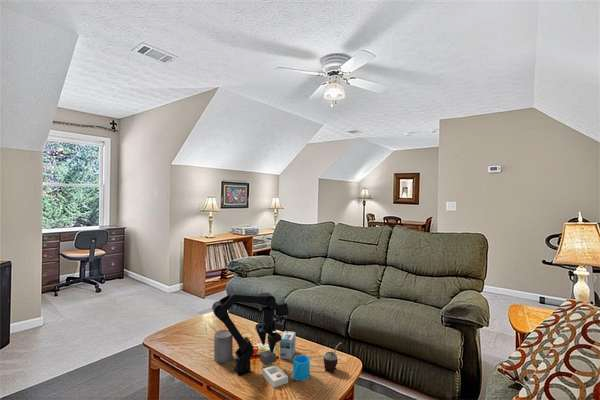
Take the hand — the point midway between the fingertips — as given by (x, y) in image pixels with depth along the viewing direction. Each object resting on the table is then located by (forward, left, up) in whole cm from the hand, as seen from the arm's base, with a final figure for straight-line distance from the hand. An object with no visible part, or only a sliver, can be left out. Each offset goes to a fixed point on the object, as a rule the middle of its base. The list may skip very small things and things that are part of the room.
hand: (267, 348), depth 162 cm
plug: (0, 0, -9) cm, 9 cm away
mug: (+9, -17, -9) cm, 21 cm away
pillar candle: (-17, +19, -9) cm, 27 cm away
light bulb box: (+15, +5, -9) cm, 19 cm away
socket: (-2, -12, -9) cm, 15 cm away
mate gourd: (+26, -20, -9) cm, 34 cm away
